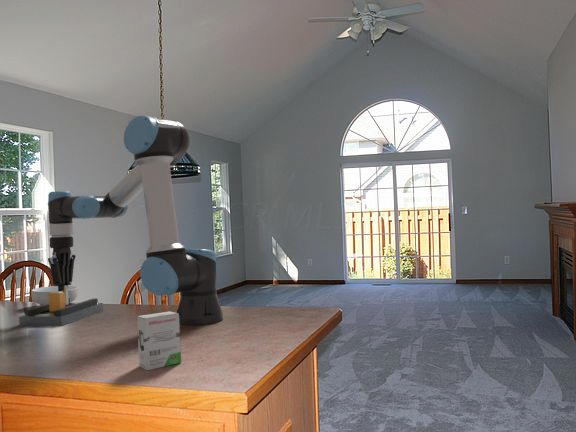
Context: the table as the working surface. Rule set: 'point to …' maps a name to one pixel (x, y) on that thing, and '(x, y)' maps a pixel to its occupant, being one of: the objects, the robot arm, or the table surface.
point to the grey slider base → (52, 320)
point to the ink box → (159, 340)
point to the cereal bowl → (43, 293)
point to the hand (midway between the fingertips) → (63, 304)
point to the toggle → (56, 300)
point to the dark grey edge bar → (37, 309)
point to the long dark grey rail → (76, 307)
